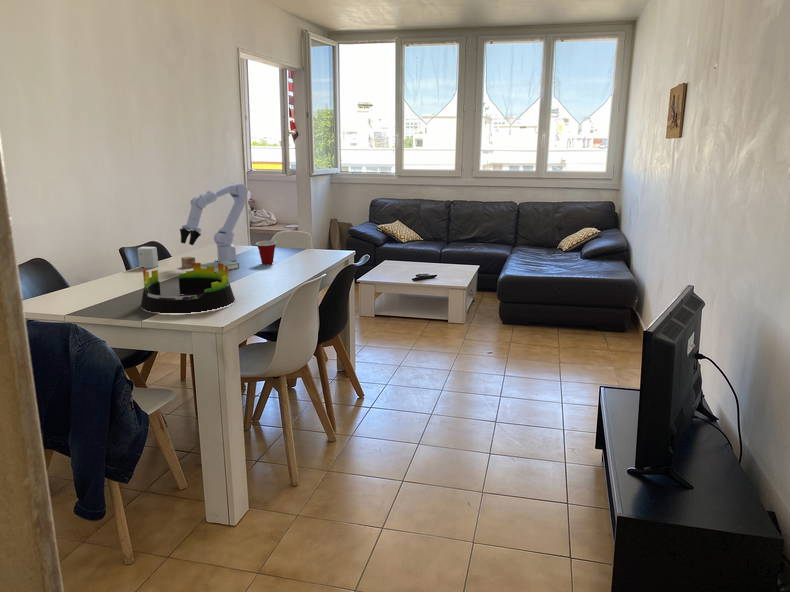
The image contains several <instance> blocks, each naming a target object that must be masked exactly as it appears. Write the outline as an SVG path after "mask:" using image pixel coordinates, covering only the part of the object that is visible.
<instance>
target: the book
mask: <svg viewBox="0 0 790 592" xmlns="http://www.w3.org/2000/svg"><path fill="white" fill-rule="evenodd" d="M218 263H221V264H223V265H224V269H225V266H227V267H228V271H230V270H229V269H232V270H235V269H234V268H238V269H240V263H239V262H236V261H226V260H224V261H218V262H217V261H212V262H207V263H201V268H207V266H214V272H216V273H218Z"/></svg>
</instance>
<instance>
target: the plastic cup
mask: <svg viewBox="0 0 790 592" xmlns="http://www.w3.org/2000/svg"><path fill="white" fill-rule="evenodd" d="M255 245H256V247H257V249H258V254H259V257H260V260H261V265H263V264H271V265H273V264H272V263H274V259H275V251H276V250H275V249H276V245H277V241H275V240H262V241H257V242H256V243H255Z"/></svg>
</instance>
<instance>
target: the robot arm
mask: <svg viewBox="0 0 790 592" xmlns="http://www.w3.org/2000/svg"><path fill="white" fill-rule="evenodd" d="M248 192H249V190H248V187H247V186H246V184H244V183H235V182H233V183H229V184H226V185H225V186H223V187H220V188H219V189H217V190H216V191H212V190H207V191H206V192H205V193H202V194H199V196H194V197H192V199H191V200H190V205H191V206H190V211H189V214H188V218H187V220H186V224H183V225H181V228H179V232H180V243H181V244H186V242H187V240H188V238H189V242H188V244H189V245H191V246H194V245H195V243H196V241H197V240H198V238H199V237H201V235H202V234H201V232H202V229H201V228H200V227H199V224H200V220H201V217H202V213H203V210H204V209H206V207H207V206H208V205H210V204H212V203H214V202H216V201H217V199H218V198H219V197H223V196H226V195H228V194H229V195H230V196H231V197H232V199H233V201H234V203H233V204H232V207H231V209H230V211H229V214H228V216H227V217H226V220H225V222H224V223H223V226H222V227H221V228H219V229H218V231H217V232H216V233H215V234H214V236H213V241H214V242H215V243H216V247H217V249H216V250H217V251H216V253H217V259H214V262H217V261H224V260H226V261H231V262H236V261H237V250H236V247H235V245H234V244H233V242H234V235H235V234H234V231H233V230H234V229H235V226H236V225H237V223H238V221H239V218H240V216H241V214H242V212H243V209H244V207H245V205H246V202H247V194H248ZM235 260H236V261H235Z"/></svg>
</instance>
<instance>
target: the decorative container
mask: <svg viewBox="0 0 790 592" xmlns="http://www.w3.org/2000/svg"><path fill="white" fill-rule="evenodd" d="M201 264H202V263H201V262H195V263H193V267H192V269H193V270H186V271H185V273H178V287H179V295H175V296H173V295H172V296H170V295H161V294H162V293H161V283H160V281H159V273H158V269H155V270H151V272H150V271H149V270H148V271H147V268H143V270H142V274H143V275H142V277H143V290H142V297H141V303H140V308H141V307H142V308H143V309H145V310H147V311H151V312H160V313H191V312H201V311H207V310H212V309H217V308H220V307H224V306H227V305H229V304H231V303H233V302H234V300H235V301H236V299H235V295H234V292H233V290H232V289H233V288H232V287H231V284H230V279H229V270H228V267H227V266H225V269H224V265H223V264H221V263H218V272H216V273H215V272H214V266H207V268H201ZM150 273H151V276H150ZM180 294H201V295H199V296H197V295H182V296H180Z"/></svg>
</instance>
